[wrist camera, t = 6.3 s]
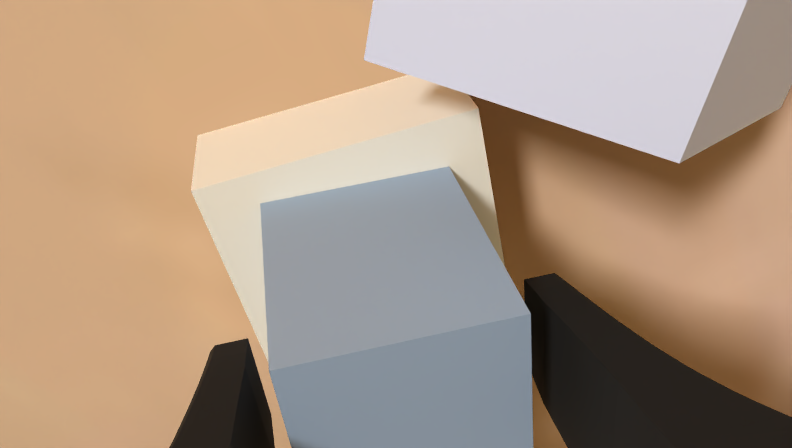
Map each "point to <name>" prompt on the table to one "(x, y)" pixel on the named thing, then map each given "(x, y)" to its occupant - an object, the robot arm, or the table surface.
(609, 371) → the robot arm
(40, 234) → the table surface
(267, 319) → the blue block
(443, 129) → the foundation slab
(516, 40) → the wedge on round base
